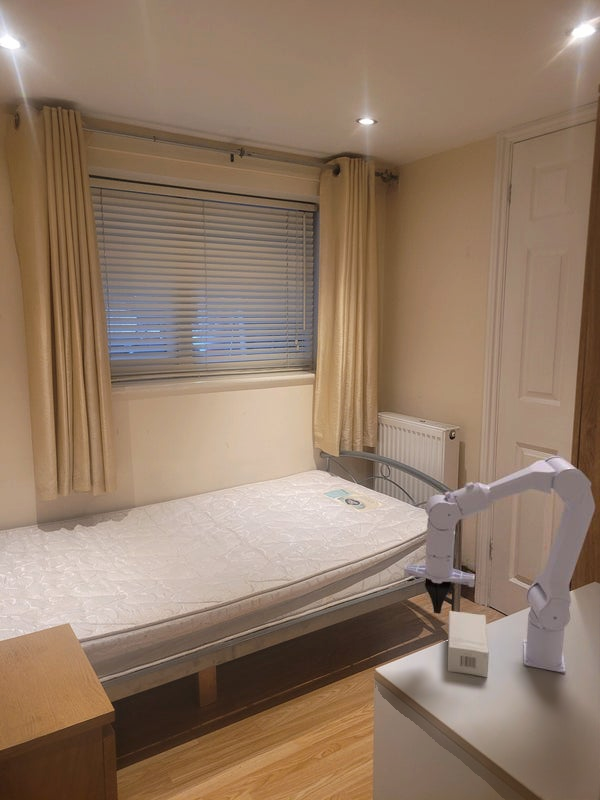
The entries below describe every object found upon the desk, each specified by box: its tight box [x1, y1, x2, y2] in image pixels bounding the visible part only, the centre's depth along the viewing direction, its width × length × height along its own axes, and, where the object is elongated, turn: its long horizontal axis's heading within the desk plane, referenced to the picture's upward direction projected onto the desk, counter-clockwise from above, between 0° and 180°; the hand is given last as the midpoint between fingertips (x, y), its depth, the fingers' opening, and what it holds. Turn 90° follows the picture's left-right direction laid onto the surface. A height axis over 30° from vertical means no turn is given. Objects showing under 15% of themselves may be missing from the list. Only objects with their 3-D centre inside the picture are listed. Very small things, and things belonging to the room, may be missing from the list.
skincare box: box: [447, 610, 490, 678], centre depth 127 cm, size 8×6×15 cm
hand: (437, 611), depth 125 cm, fingers closed
